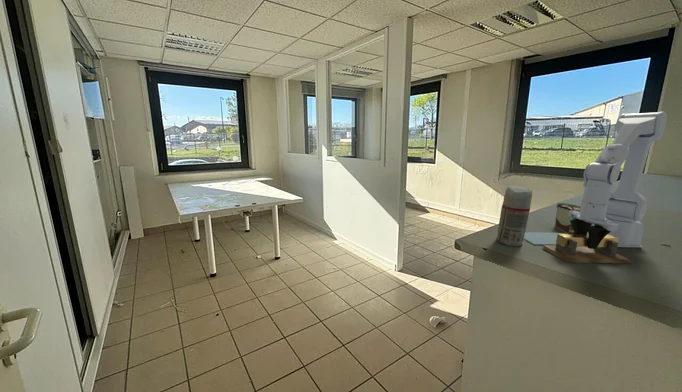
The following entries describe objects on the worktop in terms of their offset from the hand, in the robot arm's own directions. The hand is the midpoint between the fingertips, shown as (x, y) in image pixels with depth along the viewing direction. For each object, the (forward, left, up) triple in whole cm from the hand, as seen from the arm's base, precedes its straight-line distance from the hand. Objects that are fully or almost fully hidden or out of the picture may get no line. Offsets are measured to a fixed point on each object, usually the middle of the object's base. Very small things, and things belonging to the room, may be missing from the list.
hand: (585, 245), depth 83 cm
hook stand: (0, 0, -3) cm, 3 cm away
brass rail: (0, 0, +2) cm, 2 cm away
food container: (-15, -24, -4) cm, 29 cm away
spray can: (+17, -10, -4) cm, 20 cm away
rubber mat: (0, -14, -3) cm, 14 cm away
